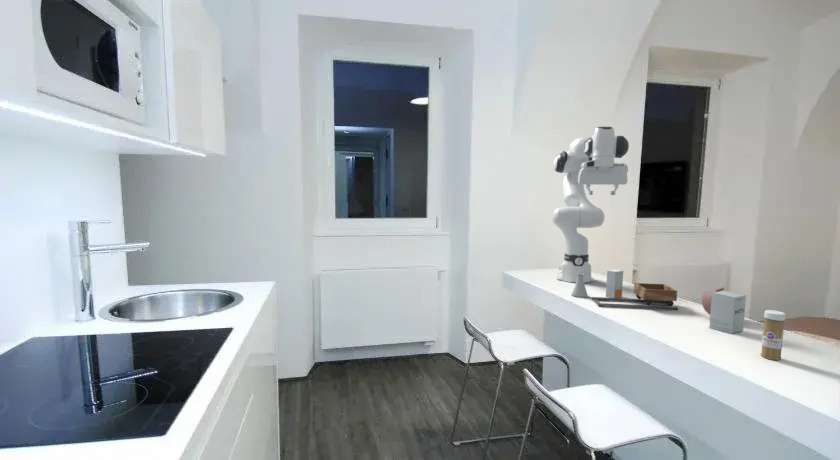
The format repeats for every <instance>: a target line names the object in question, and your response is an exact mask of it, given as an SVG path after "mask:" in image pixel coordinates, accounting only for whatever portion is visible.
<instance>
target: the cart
mask: <svg viewBox="0 0 840 460" xmlns="http://www.w3.org/2000/svg"><path fill="white" fill-rule="evenodd" d="M633 288H634V289H633V293H634V294H635V296H636V299H644V300H645V303H644V305H653V303H652V301H651V300H661V301H666V304H667V305H666V304H665V305H666V306H673V305H674V304H675V302H677V300H678V298H677V296H678V290H677V289H674V288H673V287H671V286H669V285H667V284H666V283H643V282H642V283H641V282H634V287H633Z"/></svg>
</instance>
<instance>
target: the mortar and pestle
mask: <svg viewBox="0 0 840 460" xmlns="http://www.w3.org/2000/svg"><path fill="white" fill-rule="evenodd" d="M721 291H725V288H724V287H723V286H722V287H720V288H715V290H714V291H713V292H712V291H705V292H704V293H703V294H702V298H701V305H702V308H703V309H704V311H705V312H706V313H707V314H708V315H710V313H711V300H712V293H715V292H721Z"/></svg>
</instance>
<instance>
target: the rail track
mask: <svg viewBox="0 0 840 460" xmlns="http://www.w3.org/2000/svg"><path fill="white" fill-rule="evenodd" d="M591 299H592V301H593V302H594V303H595V304H596V305H597V307H599V308H619V309H620V308H621V309H637V310H638V309H640V310H641V309H643V310H661V311H662V310H664V311H665V310H667V311H679V306H675V305H674V304H673V306H668V305H667V304H666V301H661V300H651V301H652V304H651V305H647V304H645V300H644V299H638V298H624V297H617V298H611V297H601V296H600V297H599V296H598V297H597V296H592V298H591ZM600 301H601V302H600ZM605 302H619V303H605ZM621 302H622V303H621ZM625 303H626V304H625ZM627 303H628V304H627ZM629 303H641V304H629ZM642 303H644V304H642ZM653 304H664V305H653Z"/></svg>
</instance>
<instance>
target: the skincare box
mask: <svg viewBox="0 0 840 460" xmlns="http://www.w3.org/2000/svg"><path fill="white" fill-rule="evenodd" d="M623 281H624V270H622V269H616V268H615V269H608V270H606V285H605V287H606V288H605V297H606V298H623V297H622V296H623Z"/></svg>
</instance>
